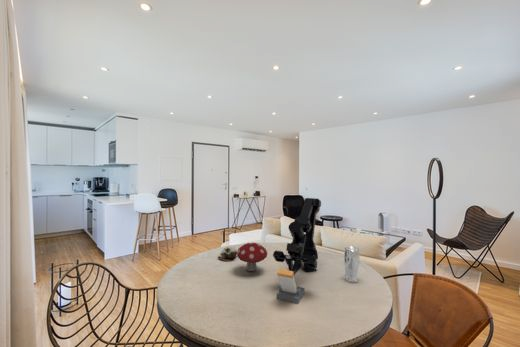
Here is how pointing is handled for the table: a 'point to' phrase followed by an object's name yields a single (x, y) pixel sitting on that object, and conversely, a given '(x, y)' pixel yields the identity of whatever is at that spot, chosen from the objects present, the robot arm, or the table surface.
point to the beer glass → (351, 264)
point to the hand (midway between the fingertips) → (290, 278)
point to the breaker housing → (291, 295)
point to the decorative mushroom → (251, 254)
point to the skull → (228, 254)
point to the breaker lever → (287, 281)
